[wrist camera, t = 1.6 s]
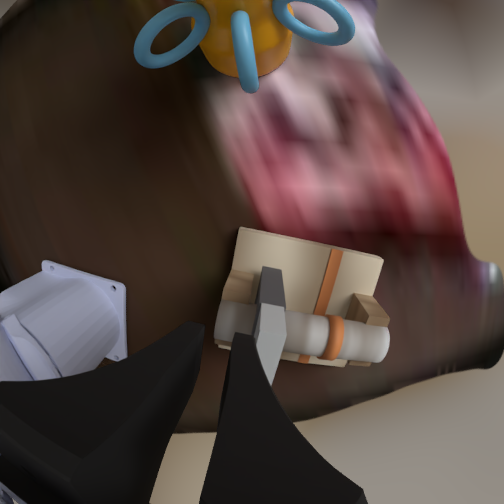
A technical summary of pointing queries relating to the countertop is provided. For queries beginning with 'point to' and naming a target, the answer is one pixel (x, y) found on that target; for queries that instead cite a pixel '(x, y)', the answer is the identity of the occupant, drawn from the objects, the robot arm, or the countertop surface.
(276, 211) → the countertop surface
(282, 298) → the grey bent plate
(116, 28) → the countertop surface
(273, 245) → the pipe rig
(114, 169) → the countertop surface
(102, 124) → the countertop surface
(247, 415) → the robot arm
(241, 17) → the yellow blue ringed piece
